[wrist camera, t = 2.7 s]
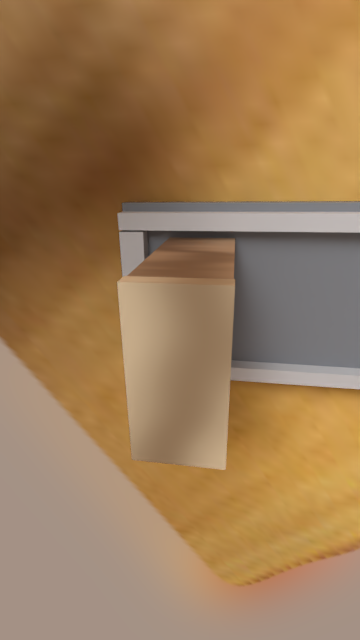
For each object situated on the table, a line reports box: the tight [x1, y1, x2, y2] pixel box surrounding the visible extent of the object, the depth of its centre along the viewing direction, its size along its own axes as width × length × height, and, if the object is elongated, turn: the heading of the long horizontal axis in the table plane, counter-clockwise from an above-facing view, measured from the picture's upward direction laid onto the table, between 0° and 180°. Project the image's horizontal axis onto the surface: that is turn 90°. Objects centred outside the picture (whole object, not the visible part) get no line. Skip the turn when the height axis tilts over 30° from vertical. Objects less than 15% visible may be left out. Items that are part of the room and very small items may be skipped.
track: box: [118, 201, 360, 389], centre depth 22 cm, size 22×12×2 cm, turn 91°
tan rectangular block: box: [117, 237, 235, 470], centre depth 18 cm, size 4×8×10 cm, turn 1°
